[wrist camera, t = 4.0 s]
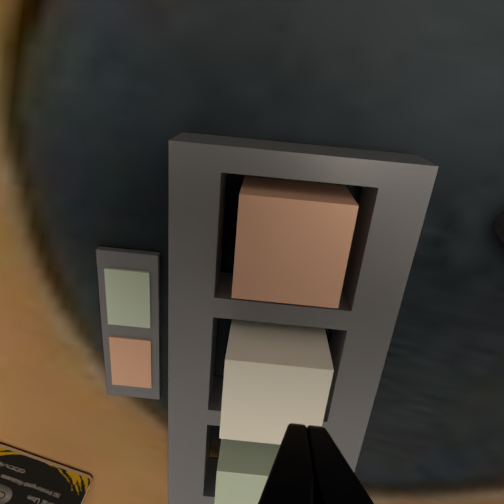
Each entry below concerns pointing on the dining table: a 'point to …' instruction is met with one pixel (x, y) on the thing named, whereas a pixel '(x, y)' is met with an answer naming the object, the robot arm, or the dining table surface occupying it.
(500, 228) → the red white panel box
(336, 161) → the keypad frame
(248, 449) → the key sage
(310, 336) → the key ivory
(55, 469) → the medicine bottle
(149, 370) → the strip
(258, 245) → the key terracotta
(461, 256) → the dining table surface
